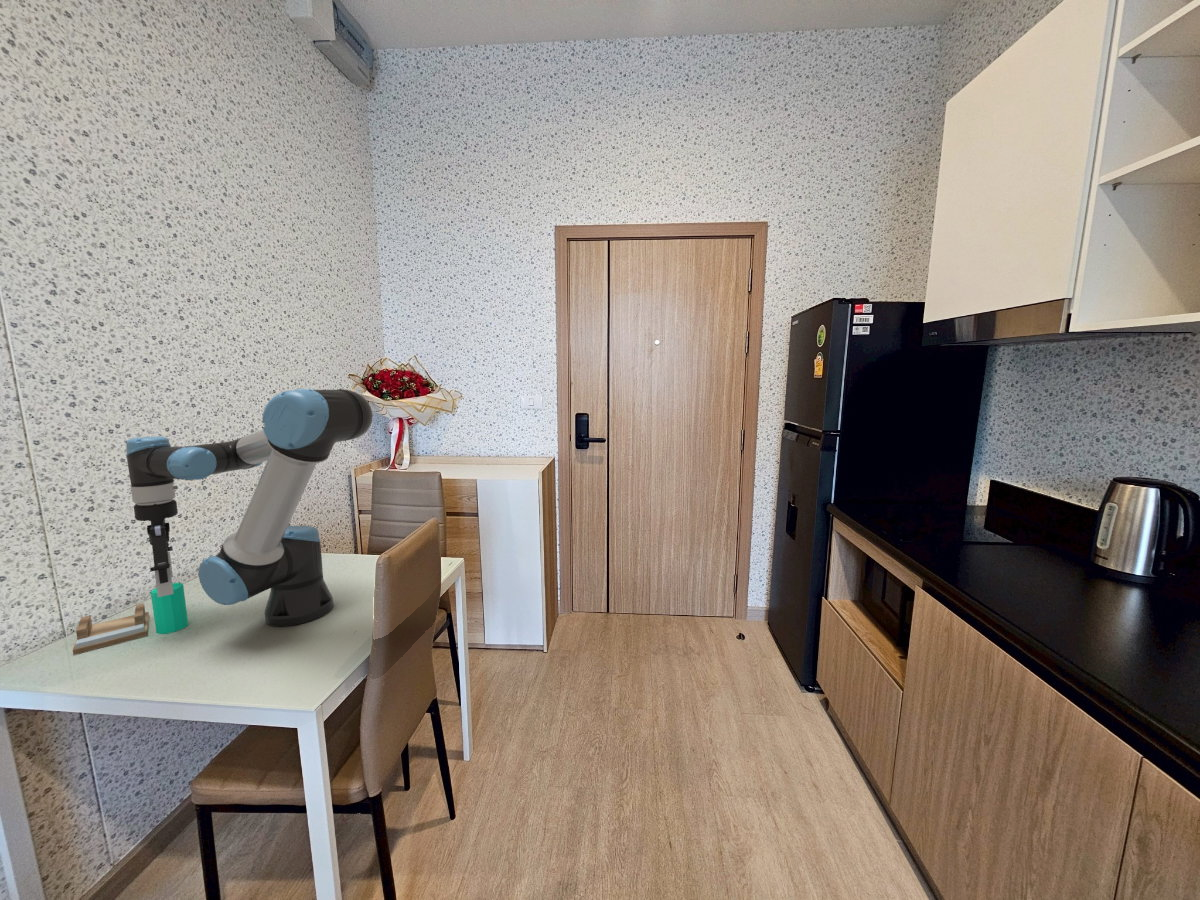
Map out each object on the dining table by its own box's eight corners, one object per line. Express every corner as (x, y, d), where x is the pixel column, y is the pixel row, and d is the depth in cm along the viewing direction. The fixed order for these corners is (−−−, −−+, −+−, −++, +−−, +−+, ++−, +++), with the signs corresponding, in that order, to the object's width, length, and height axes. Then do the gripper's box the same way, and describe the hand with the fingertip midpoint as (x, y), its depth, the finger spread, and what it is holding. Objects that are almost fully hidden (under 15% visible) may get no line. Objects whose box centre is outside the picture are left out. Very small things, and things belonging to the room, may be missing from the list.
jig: (147, 635, 114) (145, 619, 113) (73, 655, 106) (70, 637, 105) (149, 615, 124) (146, 600, 123) (81, 632, 116) (79, 615, 115)
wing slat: (144, 631, 113) (143, 627, 113) (76, 648, 106) (75, 644, 106) (144, 627, 115) (143, 623, 115) (77, 644, 108) (77, 639, 108)
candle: (192, 620, 121) (187, 575, 120) (182, 631, 116) (175, 584, 114) (163, 624, 119) (157, 579, 117) (150, 636, 113) (144, 588, 112)
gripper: (177, 508, 107) (187, 598, 109) (175, 490, 125) (184, 567, 128) (130, 514, 102) (142, 608, 104) (135, 495, 120) (146, 575, 123)
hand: (165, 586), depth 116 cm, fingers open, 13 cm apart
